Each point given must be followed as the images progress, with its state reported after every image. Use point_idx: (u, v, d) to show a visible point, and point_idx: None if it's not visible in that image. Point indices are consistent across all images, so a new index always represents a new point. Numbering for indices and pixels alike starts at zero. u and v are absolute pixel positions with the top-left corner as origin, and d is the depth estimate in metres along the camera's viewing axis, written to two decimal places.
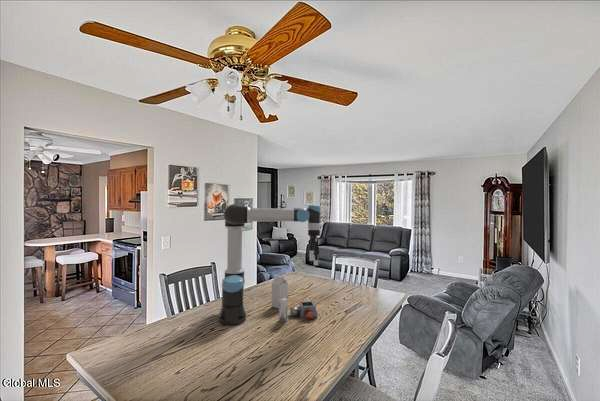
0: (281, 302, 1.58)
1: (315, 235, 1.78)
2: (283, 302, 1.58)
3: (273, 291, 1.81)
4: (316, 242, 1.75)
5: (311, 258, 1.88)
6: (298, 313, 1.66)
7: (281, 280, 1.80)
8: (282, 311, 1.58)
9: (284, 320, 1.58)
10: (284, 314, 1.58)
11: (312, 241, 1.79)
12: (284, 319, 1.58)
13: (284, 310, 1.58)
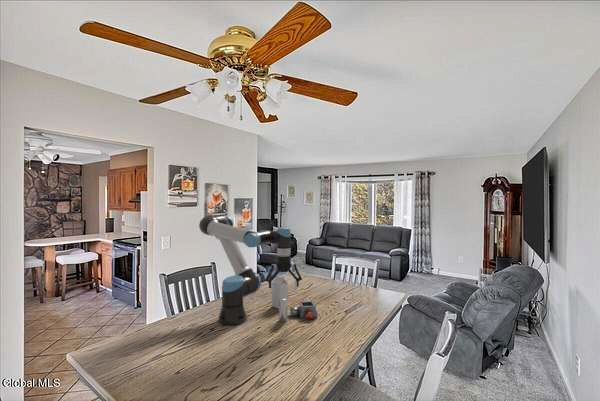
0: (281, 302, 1.58)
1: (277, 261, 1.60)
2: (283, 302, 1.58)
3: (273, 291, 1.81)
4: (271, 268, 1.59)
5: (295, 290, 1.61)
6: (298, 313, 1.66)
7: (281, 280, 1.80)
8: (282, 311, 1.58)
9: (284, 320, 1.58)
10: (284, 314, 1.58)
11: None
12: (284, 319, 1.58)
13: (284, 310, 1.58)
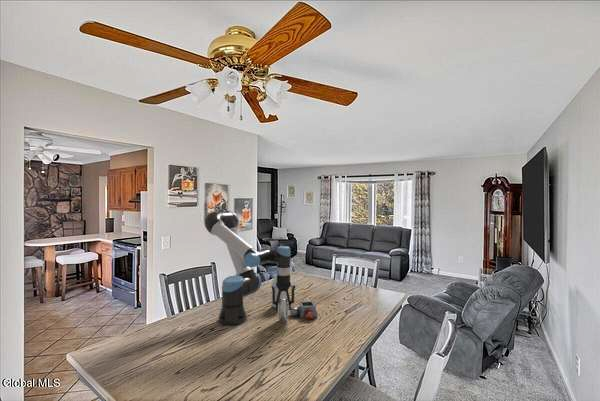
0: (281, 302, 1.58)
1: None
2: (283, 302, 1.58)
3: None
4: None
5: (287, 313, 1.61)
6: (298, 313, 1.66)
7: None
8: (282, 310, 1.58)
9: (284, 320, 1.58)
10: (284, 314, 1.58)
11: None
12: (284, 319, 1.58)
13: (284, 310, 1.58)
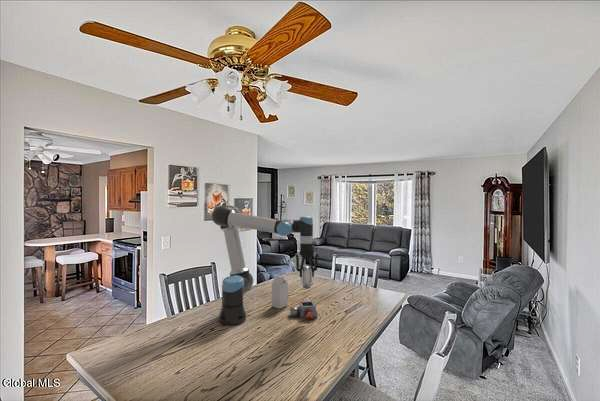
0: (305, 269, 1.66)
1: (300, 248, 1.67)
2: (306, 269, 1.65)
3: (273, 291, 1.81)
4: (296, 258, 1.67)
5: None
6: (298, 313, 1.66)
7: (281, 280, 1.80)
8: (306, 277, 1.65)
9: (308, 286, 1.66)
10: (308, 281, 1.66)
11: None
12: (308, 285, 1.66)
13: (308, 277, 1.66)
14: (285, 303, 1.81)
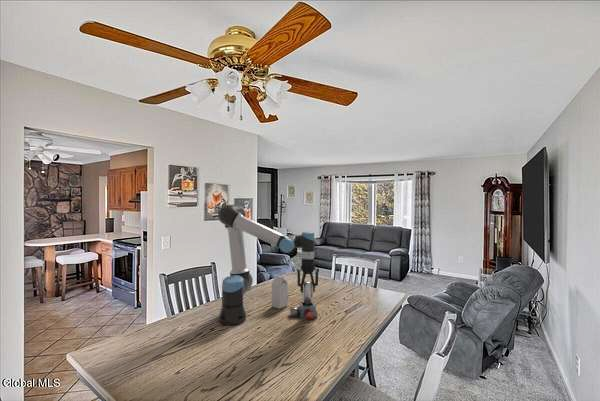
0: (306, 284, 1.67)
1: None
2: (308, 284, 1.66)
3: (273, 291, 1.81)
4: (297, 273, 1.68)
5: None
6: (298, 313, 1.66)
7: (281, 280, 1.80)
8: (307, 293, 1.66)
9: (309, 302, 1.67)
10: (309, 296, 1.67)
11: None
12: (309, 301, 1.67)
13: (309, 292, 1.66)
14: (285, 303, 1.81)
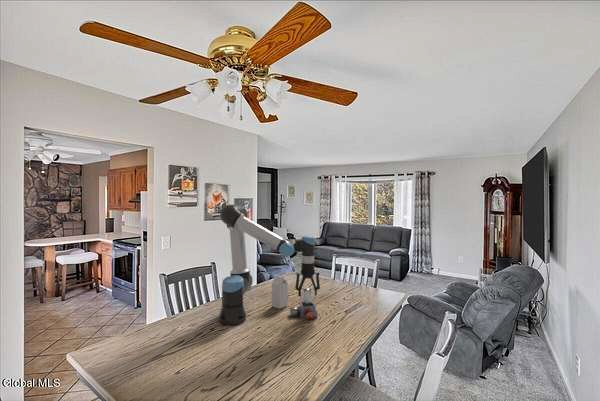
0: (305, 291, 1.67)
1: None
2: (307, 291, 1.66)
3: (273, 291, 1.81)
4: (297, 277, 1.68)
5: (313, 298, 1.69)
6: (298, 313, 1.66)
7: (281, 280, 1.80)
8: (306, 299, 1.66)
9: None
10: (308, 302, 1.67)
11: None
12: None
13: (308, 298, 1.66)
14: (285, 303, 1.81)
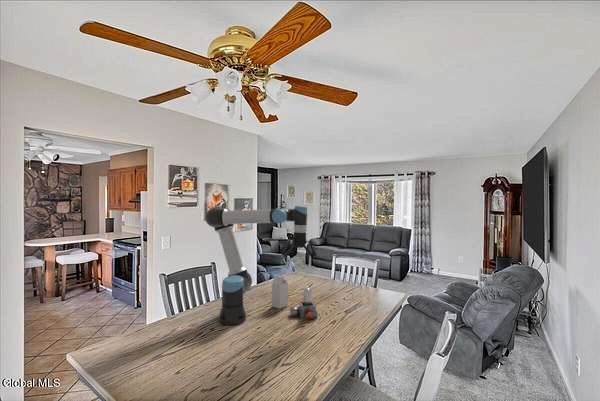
0: (306, 291, 1.67)
1: (293, 237, 1.69)
2: (307, 291, 1.66)
3: (273, 291, 1.81)
4: (287, 243, 1.69)
5: (309, 265, 1.71)
6: (298, 313, 1.66)
7: (281, 280, 1.80)
8: (307, 299, 1.66)
9: None
10: (309, 303, 1.67)
11: None
12: None
13: (308, 299, 1.67)
14: (285, 303, 1.81)
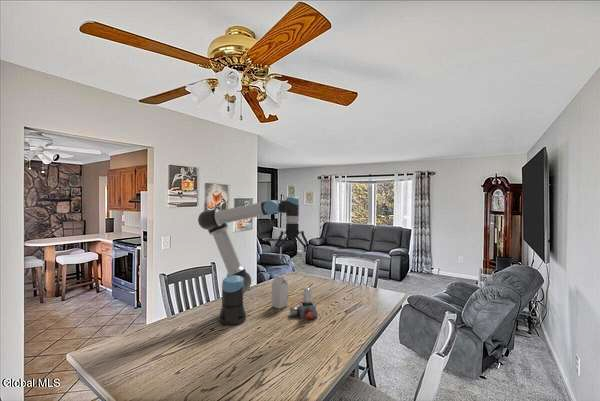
0: (306, 291, 1.67)
1: (286, 228, 1.70)
2: (307, 291, 1.66)
3: (273, 291, 1.81)
4: (280, 235, 1.70)
5: (302, 255, 1.72)
6: (298, 313, 1.66)
7: (281, 280, 1.80)
8: (307, 299, 1.66)
9: None
10: (309, 303, 1.67)
11: None
12: None
13: (308, 299, 1.67)
14: (285, 303, 1.81)
